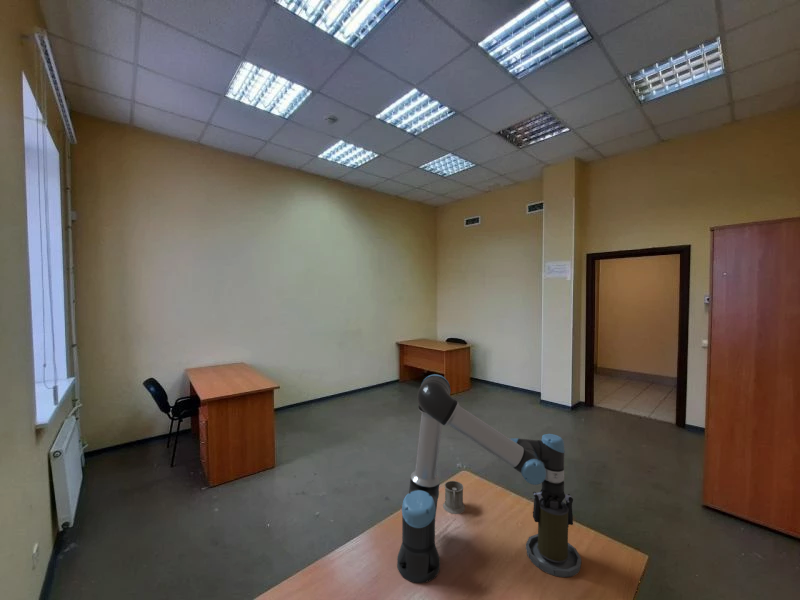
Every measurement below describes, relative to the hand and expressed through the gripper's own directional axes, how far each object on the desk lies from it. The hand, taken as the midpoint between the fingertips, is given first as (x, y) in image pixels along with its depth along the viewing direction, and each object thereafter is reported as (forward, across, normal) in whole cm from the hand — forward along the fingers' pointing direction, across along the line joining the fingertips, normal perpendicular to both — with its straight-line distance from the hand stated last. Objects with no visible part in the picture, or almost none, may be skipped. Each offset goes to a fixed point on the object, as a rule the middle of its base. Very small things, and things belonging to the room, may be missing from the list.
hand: (552, 540), depth 122 cm
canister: (+4, 0, 0) cm, 4 cm away
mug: (+6, -35, +23) cm, 42 cm away
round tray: (+6, 0, 0) cm, 6 cm away
